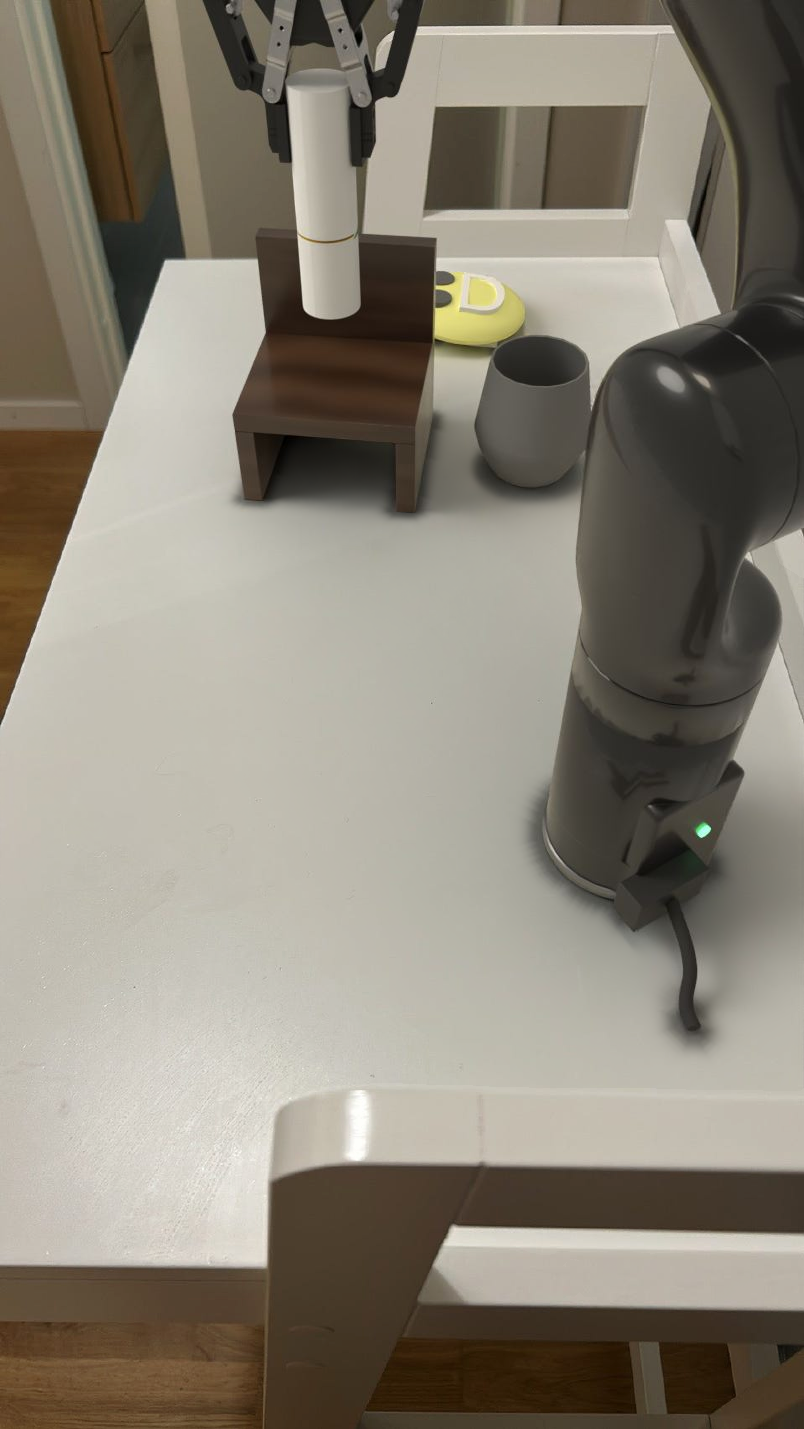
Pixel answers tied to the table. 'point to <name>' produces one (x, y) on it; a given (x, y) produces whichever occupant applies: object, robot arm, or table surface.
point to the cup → (534, 409)
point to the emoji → (475, 309)
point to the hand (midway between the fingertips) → (323, 159)
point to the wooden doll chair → (343, 360)
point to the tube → (324, 191)
